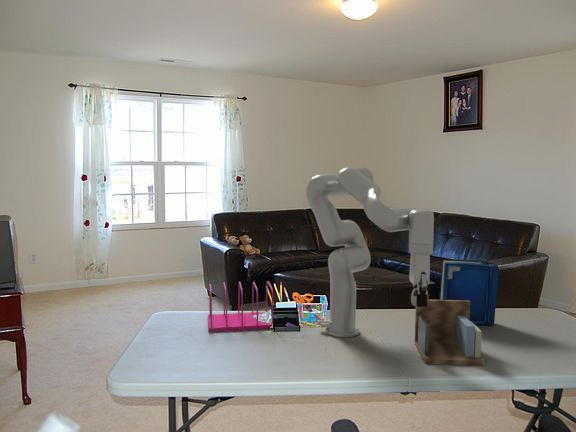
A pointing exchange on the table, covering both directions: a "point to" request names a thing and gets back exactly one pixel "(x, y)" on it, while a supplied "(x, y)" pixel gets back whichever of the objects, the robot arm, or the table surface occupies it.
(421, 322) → the bookend
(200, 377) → the table surface
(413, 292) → the roller toy
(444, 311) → the shelf
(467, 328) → the standing books
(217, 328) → the file sorter
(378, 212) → the robot arm
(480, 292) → the book
